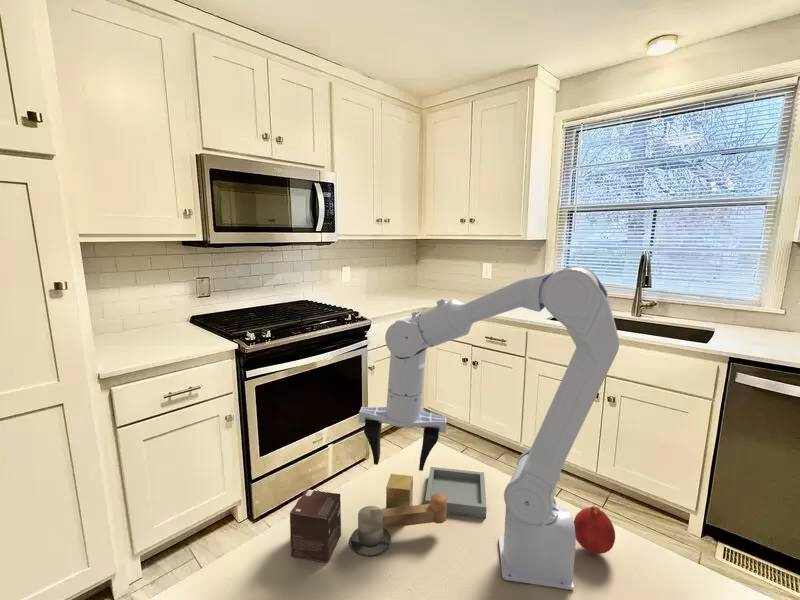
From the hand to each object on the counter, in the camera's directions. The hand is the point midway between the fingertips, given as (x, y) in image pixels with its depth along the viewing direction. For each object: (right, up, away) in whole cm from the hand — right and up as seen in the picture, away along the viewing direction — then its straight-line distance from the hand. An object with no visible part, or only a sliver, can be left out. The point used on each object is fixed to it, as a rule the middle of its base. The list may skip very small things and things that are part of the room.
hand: (398, 464), depth 67 cm
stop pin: (0, -9, +2) cm, 9 cm away
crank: (+1, -9, -4) cm, 10 cm away
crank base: (-4, -10, -5) cm, 12 cm away
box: (-13, -10, -6) cm, 17 cm away
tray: (+11, -9, +7) cm, 15 cm away
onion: (+30, -11, -7) cm, 32 cm away
